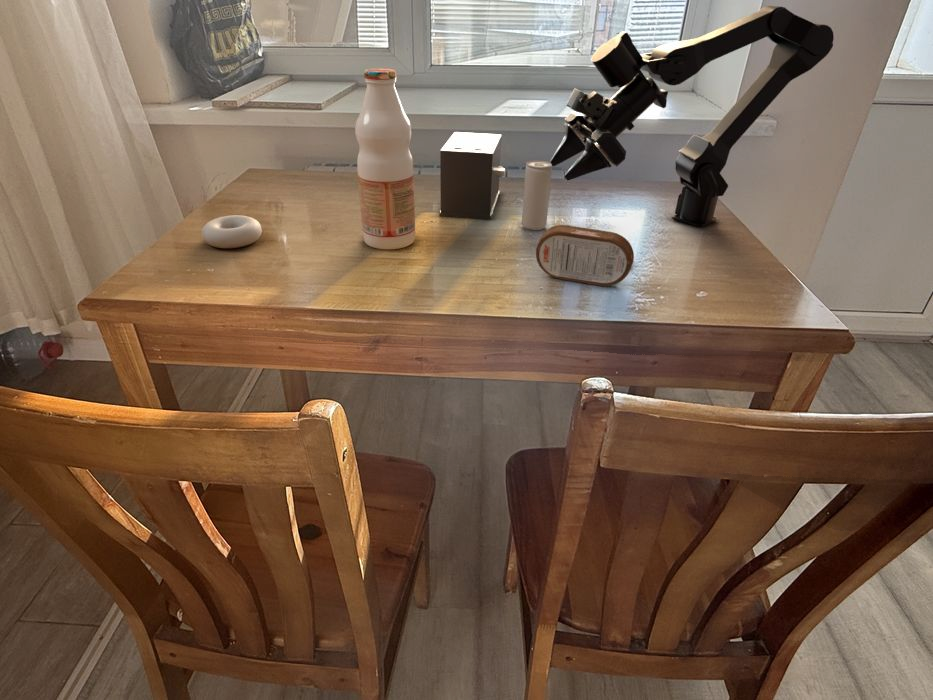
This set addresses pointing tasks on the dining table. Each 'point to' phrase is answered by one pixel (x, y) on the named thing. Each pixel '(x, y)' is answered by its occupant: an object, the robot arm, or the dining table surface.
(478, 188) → the toaster
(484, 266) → the dining table surface
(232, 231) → the donut
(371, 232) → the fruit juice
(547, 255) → the tin
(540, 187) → the beverage can
